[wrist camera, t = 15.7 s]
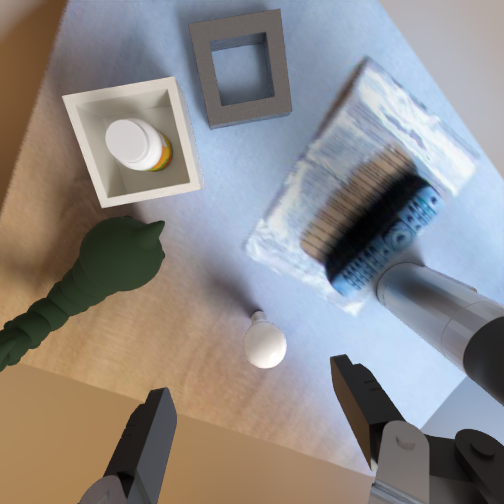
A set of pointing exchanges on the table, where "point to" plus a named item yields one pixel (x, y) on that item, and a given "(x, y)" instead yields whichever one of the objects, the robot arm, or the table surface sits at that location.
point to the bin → (151, 111)
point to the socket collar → (235, 35)
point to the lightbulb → (264, 342)
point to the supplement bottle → (139, 145)
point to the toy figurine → (88, 281)
